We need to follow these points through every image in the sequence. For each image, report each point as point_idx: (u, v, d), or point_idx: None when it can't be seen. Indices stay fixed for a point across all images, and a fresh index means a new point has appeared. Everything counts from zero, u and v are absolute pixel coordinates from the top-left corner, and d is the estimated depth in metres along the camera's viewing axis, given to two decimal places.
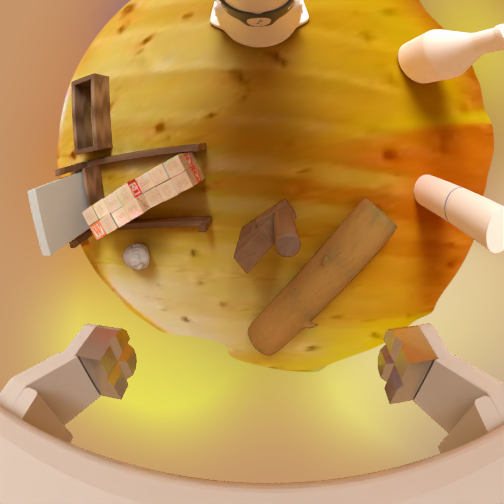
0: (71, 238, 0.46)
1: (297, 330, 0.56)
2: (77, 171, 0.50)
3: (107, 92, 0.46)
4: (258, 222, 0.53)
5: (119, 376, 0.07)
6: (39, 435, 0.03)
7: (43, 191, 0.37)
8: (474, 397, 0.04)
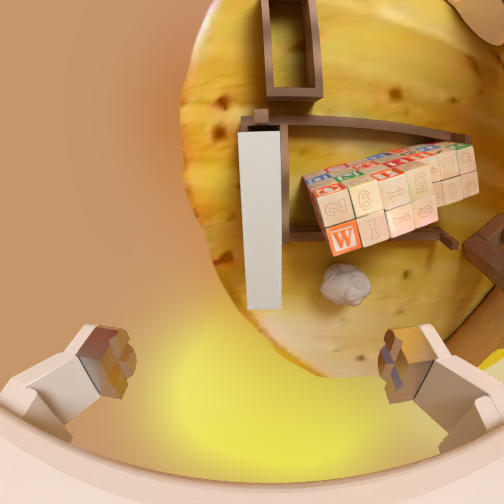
0: None
1: (491, 352, 0.36)
2: (247, 130, 0.30)
3: None
4: (490, 239, 0.33)
5: (119, 376, 0.07)
6: (39, 435, 0.03)
7: None
8: (474, 397, 0.04)
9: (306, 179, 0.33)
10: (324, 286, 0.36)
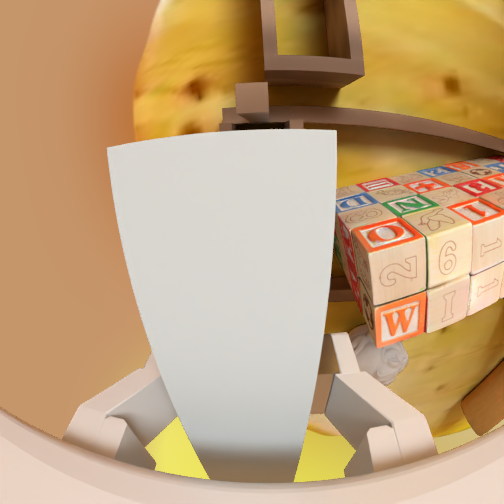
0: None
1: None
2: (233, 130, 0.18)
3: None
4: None
5: None
6: (39, 435, 0.03)
7: None
8: (378, 423, 0.05)
9: None
10: None
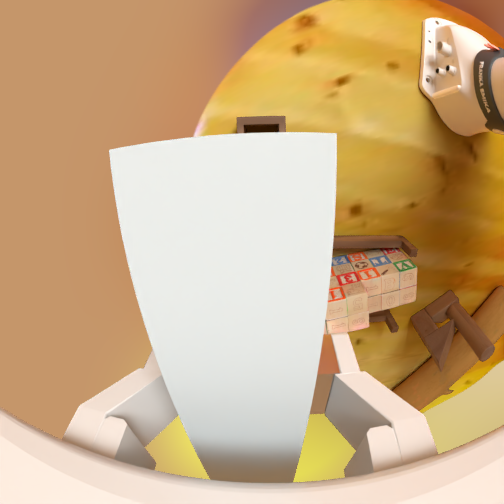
0: None
1: None
2: None
3: None
4: (434, 316, 0.45)
5: None
6: (39, 435, 0.03)
7: None
8: (378, 424, 0.05)
9: None
10: None
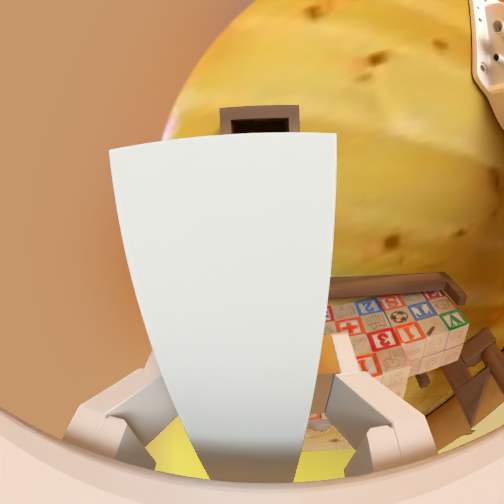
0: None
1: None
2: None
3: None
4: (467, 360, 0.33)
5: None
6: (39, 435, 0.03)
7: None
8: (378, 424, 0.05)
9: None
10: None
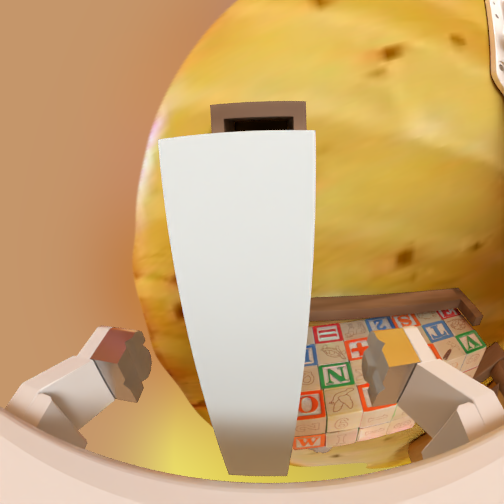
0: None
1: None
2: None
3: None
4: (476, 377, 0.29)
5: (135, 379, 0.07)
6: (39, 435, 0.03)
7: None
8: (458, 402, 0.04)
9: None
10: None
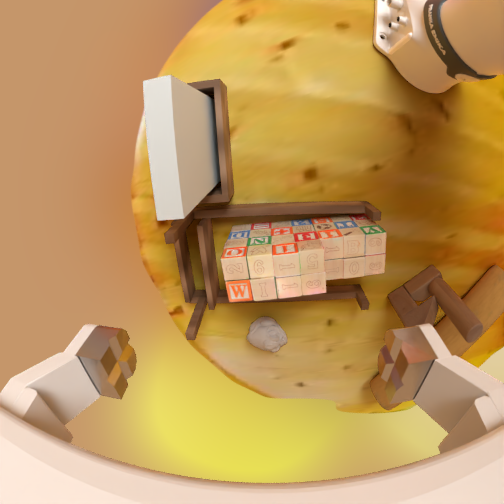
0: (202, 195, 0.29)
1: None
2: None
3: (227, 110, 0.36)
4: (413, 293, 0.43)
5: (119, 376, 0.07)
6: (39, 435, 0.03)
7: (178, 88, 0.20)
8: (474, 397, 0.04)
9: (231, 232, 0.41)
10: (249, 336, 0.47)
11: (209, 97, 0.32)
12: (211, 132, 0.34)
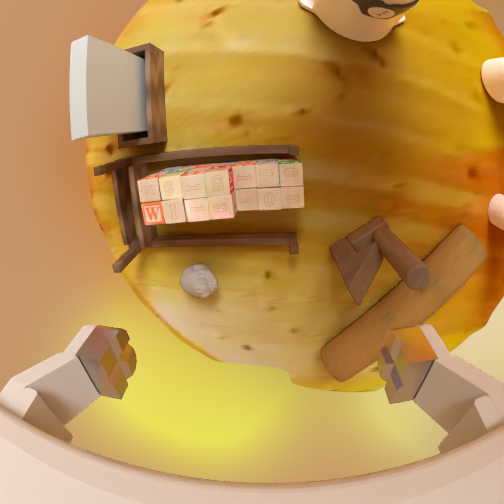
0: (119, 129, 0.30)
1: None
2: (117, 170, 0.42)
3: (162, 70, 0.37)
4: (354, 242, 0.44)
5: (119, 376, 0.07)
6: (39, 435, 0.03)
7: (96, 45, 0.21)
8: (474, 397, 0.04)
9: (163, 169, 0.42)
10: (181, 281, 0.47)
11: (143, 59, 0.33)
12: (143, 86, 0.34)
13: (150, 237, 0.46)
